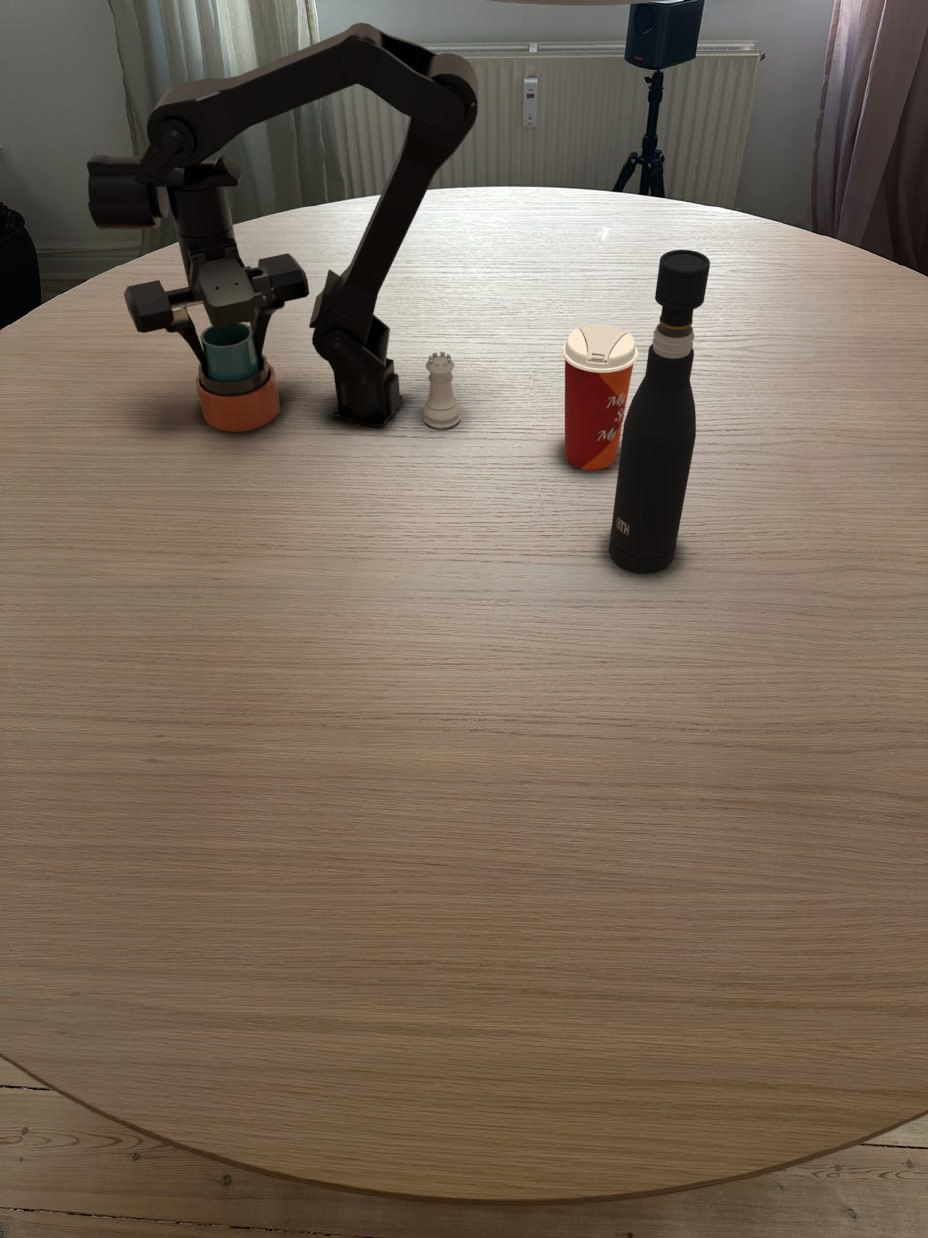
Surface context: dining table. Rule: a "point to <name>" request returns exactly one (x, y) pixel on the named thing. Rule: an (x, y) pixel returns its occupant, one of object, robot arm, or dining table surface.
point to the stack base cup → (241, 407)
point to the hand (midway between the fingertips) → (232, 362)
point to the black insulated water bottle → (660, 425)
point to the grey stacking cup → (236, 386)
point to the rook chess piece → (441, 393)
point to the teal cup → (230, 352)
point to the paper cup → (596, 393)
